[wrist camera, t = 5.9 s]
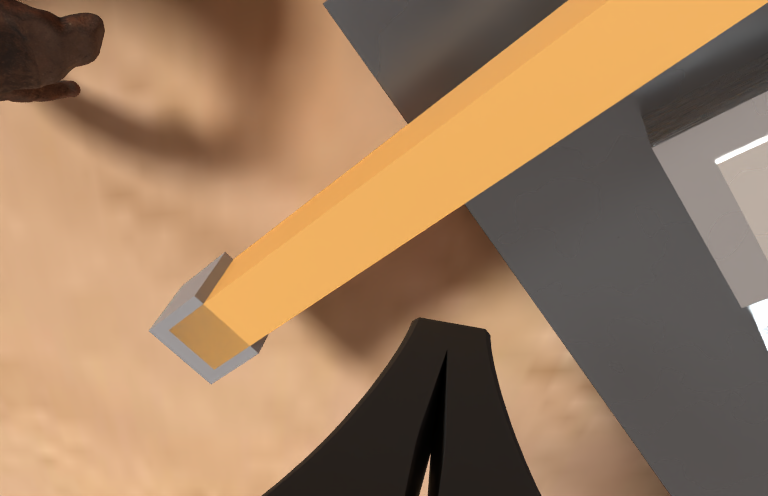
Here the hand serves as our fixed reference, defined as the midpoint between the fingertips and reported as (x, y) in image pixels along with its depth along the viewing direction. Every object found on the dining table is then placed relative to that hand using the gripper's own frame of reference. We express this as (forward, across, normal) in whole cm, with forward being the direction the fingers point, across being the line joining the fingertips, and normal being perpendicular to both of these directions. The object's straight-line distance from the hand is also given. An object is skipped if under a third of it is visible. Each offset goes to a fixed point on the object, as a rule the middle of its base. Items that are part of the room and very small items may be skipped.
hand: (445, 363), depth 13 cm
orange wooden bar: (+5, +1, -2) cm, 5 cm away
